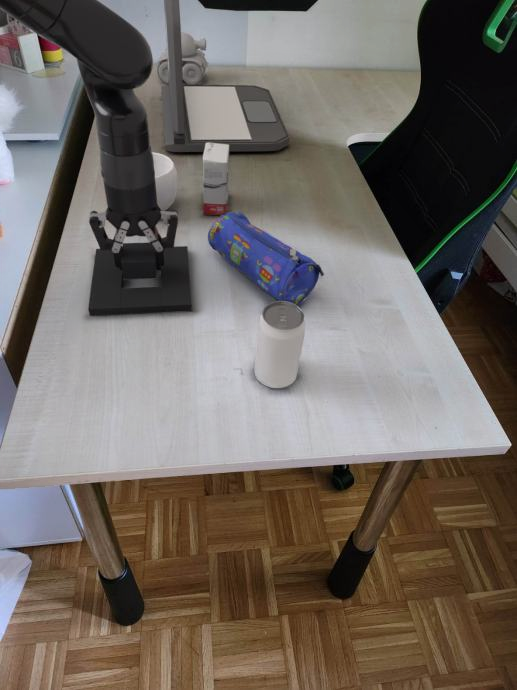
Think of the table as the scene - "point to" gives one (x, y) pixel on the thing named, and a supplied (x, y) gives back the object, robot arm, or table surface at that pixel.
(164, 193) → the cup
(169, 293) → the socket pad
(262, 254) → the pencil case
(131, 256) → the plug pad
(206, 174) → the ink box
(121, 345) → the table surface
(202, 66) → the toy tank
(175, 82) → the gray camera stand
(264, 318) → the can
